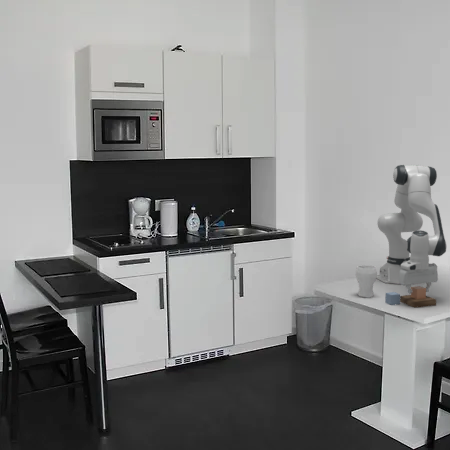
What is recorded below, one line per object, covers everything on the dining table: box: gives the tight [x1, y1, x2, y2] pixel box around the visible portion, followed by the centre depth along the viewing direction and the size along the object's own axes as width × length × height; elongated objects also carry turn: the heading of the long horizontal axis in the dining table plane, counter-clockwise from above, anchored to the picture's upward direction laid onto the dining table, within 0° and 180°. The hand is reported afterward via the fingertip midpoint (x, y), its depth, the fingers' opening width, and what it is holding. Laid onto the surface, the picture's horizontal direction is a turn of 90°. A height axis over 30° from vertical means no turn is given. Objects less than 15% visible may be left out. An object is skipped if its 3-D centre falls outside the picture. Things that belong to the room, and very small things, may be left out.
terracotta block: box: [410, 285, 427, 299], centre depth 301 cm, size 5×5×5 cm
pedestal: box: [400, 294, 437, 309], centre depth 302 cm, size 12×12×3 cm
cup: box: [355, 264, 378, 298], centre depth 318 cm, size 11×11×15 cm
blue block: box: [385, 291, 401, 306], centre depth 303 cm, size 5×5×5 cm
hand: (418, 292), depth 301 cm, fingers open, 8 cm apart
